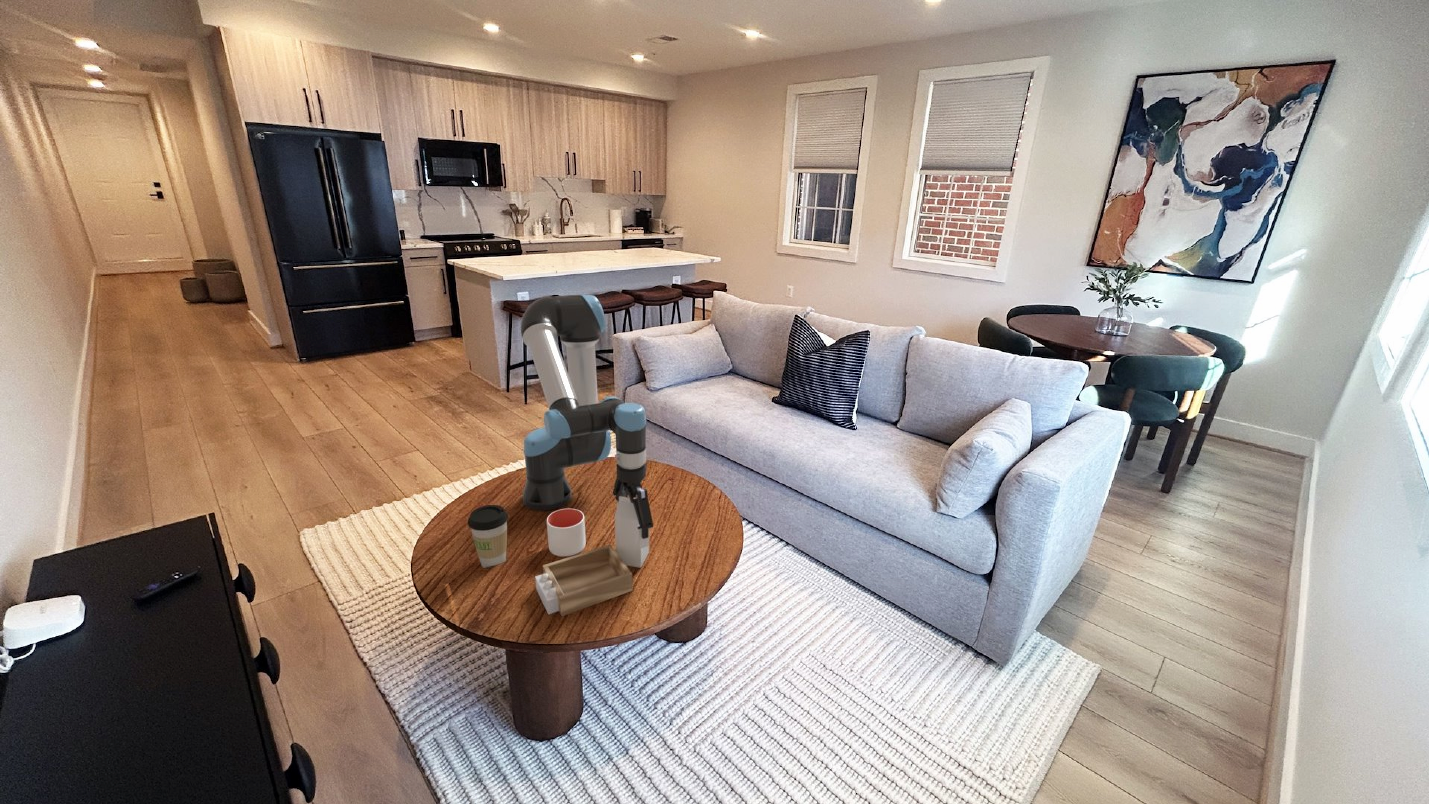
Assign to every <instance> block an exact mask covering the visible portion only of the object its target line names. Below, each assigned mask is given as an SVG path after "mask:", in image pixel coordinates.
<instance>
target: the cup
mask: <svg viewBox="0 0 1429 804" xmlns="http://www.w3.org/2000/svg"><path fill="white" fill-rule="evenodd" d="M546 529H547V541H548V549H549V552H550V553H551V554H552V555H554V556H558V557H572V556H575V555H578V554H580V553H581V552H582V551H583V550H584V549H585V547H586V543H587V541H586V522H585V515H584V513H583V511H581V510H579V509H577V508H576V509H575V508H562V509H561V508H560V509H558V510H557V509H556V510H555V511H552V512H551V513H550V514H549V515H548V516H547V518H546Z"/></svg>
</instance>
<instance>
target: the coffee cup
mask: <svg viewBox="0 0 1429 804" xmlns="http://www.w3.org/2000/svg"><path fill="white" fill-rule="evenodd" d="M508 520H509V514H508V511H506V509H505V508H504V507H503V506H501V505H497V504H486V505H483V506H479V507H477V508H475V509H474V510H472V511H471V513H470V514H469V517H468V520H467V525H468V527H469V528H470V530H471V537H472V539H473V543H474V546H475V550H476V553H477V556H478V558H479V559H478V560H479V562H480V566H481V567H482V568H484V569H486V568H490V567H493V566H498V565H500V564H503V563H506V560H507V558H506V557H507V547H508V546H507V543H508V542H507V541H508V540H507V539H508V525H507V524H508V522H507V521H508Z"/></svg>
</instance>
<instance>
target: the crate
mask: <svg viewBox="0 0 1429 804" xmlns="http://www.w3.org/2000/svg"><path fill="white" fill-rule="evenodd" d="M542 571H543V573H542V574H545V573H547V574H548V577H549V580H551V581H552V585H553V588H556V593H557V596H558V604H559V611H558V612H559V614H560V615H561V617H563V616H566V615H569V614H572V613H575V612H578V611H580V610H583V609H585V608H589V607H591V606H594V605H597V604H600V603H602V602H605V601H608V600H610V599H614V598H617V597H618V596H621V595H624V594H627V593H630V592H632V591H633V588H634V587H633V573H632V571H631V570H630V568H628V566H627V565H625V564H624V562H623V561H622V559H621V558H620V557H619V555H618V554H617V553H616V549H614V547H613V546H612V545H611V544H608V545H603V546H601V547H599V548H594V549H592V550H588V551H585V552H582V553H581V552H580V553H577V554H575V555H572V556H567V557H564V558H563V559H560V560H559V559H558V560H556V561H553V562H549V563H546V564H543V565H542ZM551 571H552V573H553V575H554V577H555V579H556V580H555V579H554V577H553V575H552V573H551ZM556 581H557V582H556ZM557 583H558V584H559V586H560V588H561V590H562V592H563V593H562V592H561V590H560V588H559V586H558V584H557ZM563 594H564V595H563Z"/></svg>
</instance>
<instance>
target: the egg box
mask: <svg viewBox="0 0 1429 804" xmlns="http://www.w3.org/2000/svg"><path fill="white" fill-rule="evenodd" d="M551 573H552V571H551ZM552 575H553V573H552ZM534 577H535V587H536V588H535V589H536V592H537V594H538V596H539V598H540V600H541V602H542V605H543V606H544V608H545V610H546V612H547V615H548V616H549V615H551V614H555V613H557V612H559V604H558V596H557V593H556V588H553V585H552V581H551V580H549V577H548V574H547V573H545V574H543V573H542V574H538V575H535V576H534ZM553 577H554V575H553ZM554 579H555V577H554ZM555 580H556V579H555ZM556 582H557V581H556ZM557 584H558V583H557ZM558 586H559V584H558ZM559 588H560V586H559ZM560 590H561V588H560ZM561 592H562V590H561ZM562 593H563V592H562ZM563 595H564V594H563Z"/></svg>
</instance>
